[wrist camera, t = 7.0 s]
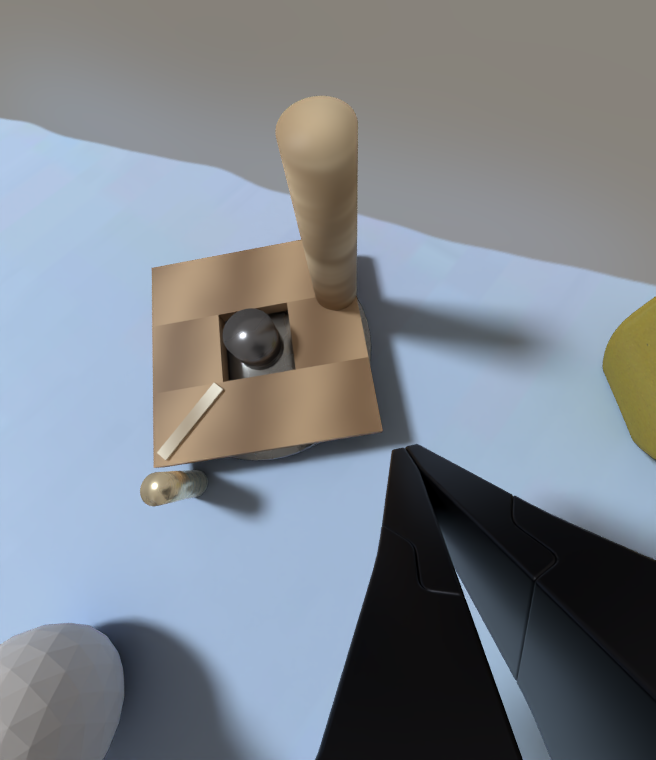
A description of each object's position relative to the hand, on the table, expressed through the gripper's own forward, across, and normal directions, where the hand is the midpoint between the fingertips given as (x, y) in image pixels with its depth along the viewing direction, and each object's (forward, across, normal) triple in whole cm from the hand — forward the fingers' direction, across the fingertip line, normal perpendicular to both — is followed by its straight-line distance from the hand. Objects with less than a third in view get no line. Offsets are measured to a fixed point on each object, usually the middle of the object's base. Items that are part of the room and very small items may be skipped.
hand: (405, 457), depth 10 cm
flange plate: (+12, -6, 0) cm, 13 cm away
